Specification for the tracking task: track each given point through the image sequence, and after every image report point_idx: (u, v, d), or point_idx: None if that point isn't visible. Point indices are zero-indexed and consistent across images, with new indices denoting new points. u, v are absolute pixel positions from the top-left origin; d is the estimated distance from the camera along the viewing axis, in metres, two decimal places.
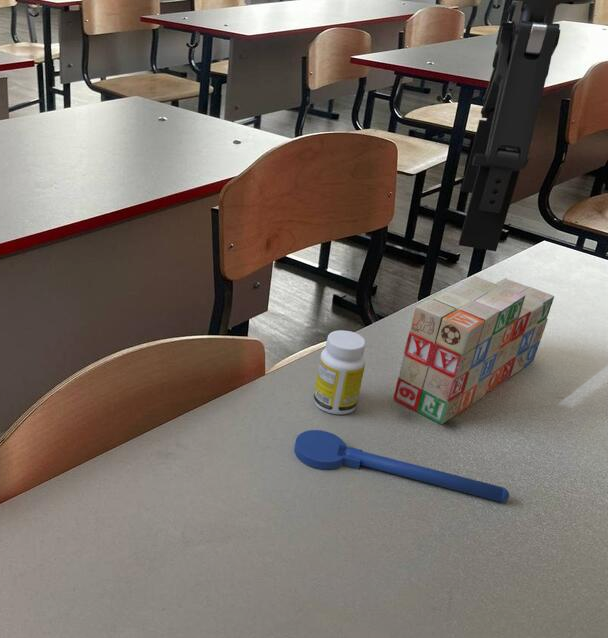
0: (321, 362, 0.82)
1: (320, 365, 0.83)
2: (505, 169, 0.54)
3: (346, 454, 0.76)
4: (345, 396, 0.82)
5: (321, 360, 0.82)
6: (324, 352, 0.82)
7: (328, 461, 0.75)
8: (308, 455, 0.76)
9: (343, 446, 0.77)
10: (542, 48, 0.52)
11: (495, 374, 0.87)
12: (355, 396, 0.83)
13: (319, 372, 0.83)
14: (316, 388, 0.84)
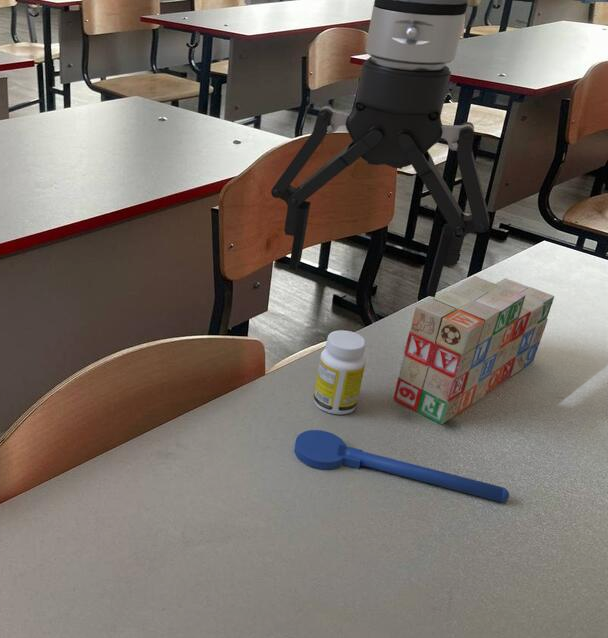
0: (321, 362, 0.82)
1: (320, 365, 0.83)
2: None
3: (346, 454, 0.76)
4: (345, 396, 0.82)
5: (321, 360, 0.82)
6: (324, 352, 0.82)
7: (328, 461, 0.75)
8: (308, 455, 0.76)
9: (343, 446, 0.77)
10: None
11: (495, 374, 0.87)
12: (355, 396, 0.83)
13: (319, 372, 0.83)
14: (316, 388, 0.84)
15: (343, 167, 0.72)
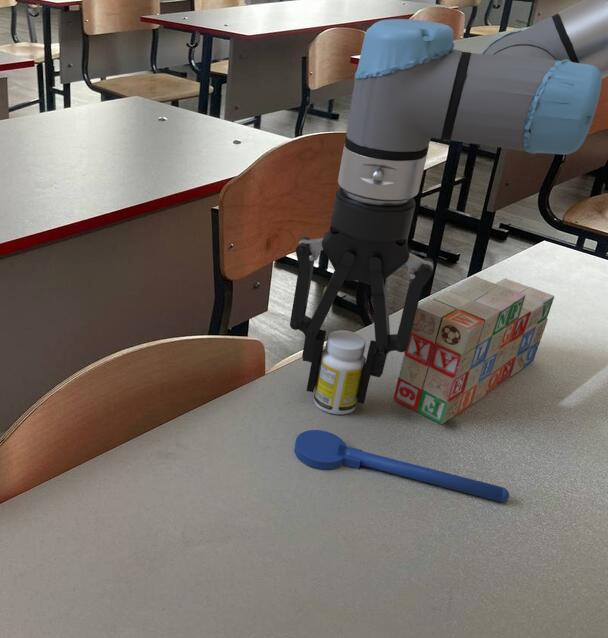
0: (321, 362, 0.82)
1: (320, 365, 0.83)
2: None
3: (346, 454, 0.76)
4: (345, 396, 0.82)
5: (321, 360, 0.82)
6: (324, 352, 0.82)
7: (328, 461, 0.75)
8: (308, 455, 0.76)
9: (343, 446, 0.77)
10: None
11: (495, 374, 0.87)
12: (355, 396, 0.83)
13: (319, 372, 0.83)
14: (316, 388, 0.84)
15: (337, 291, 0.78)
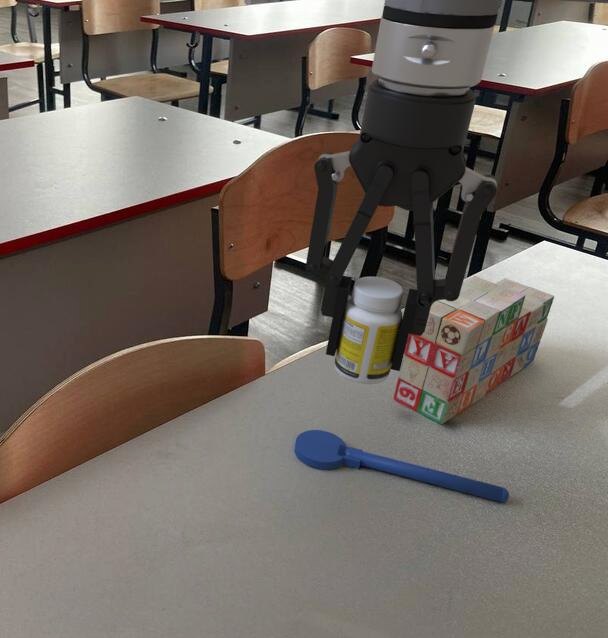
0: (345, 316, 0.64)
1: (344, 321, 0.65)
2: None
3: (346, 454, 0.76)
4: (376, 361, 0.64)
5: (345, 314, 0.64)
6: (349, 304, 0.64)
7: (328, 461, 0.75)
8: (308, 455, 0.76)
9: (343, 446, 0.77)
10: None
11: (495, 374, 0.87)
12: (389, 361, 0.65)
13: (342, 330, 0.65)
14: (338, 351, 0.66)
15: (367, 220, 0.60)
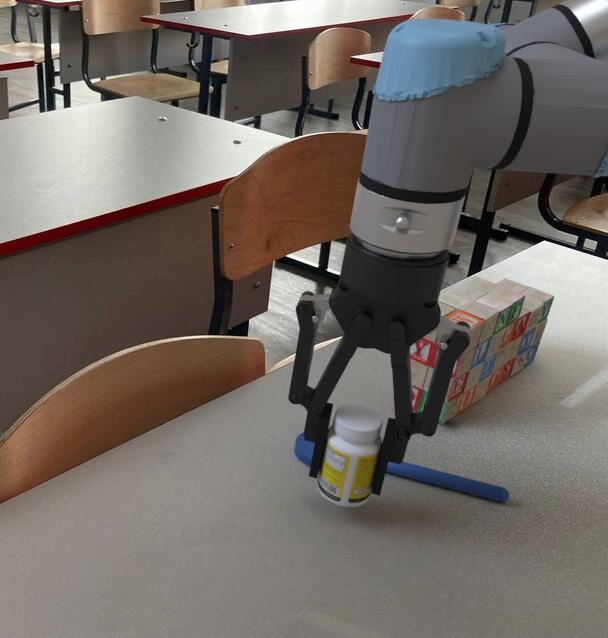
0: (327, 443, 0.67)
1: (326, 447, 0.67)
2: None
3: None
4: (357, 487, 0.66)
5: (327, 441, 0.67)
6: (331, 431, 0.67)
7: None
8: (308, 455, 0.76)
9: None
10: None
11: (495, 374, 0.87)
12: (369, 486, 0.67)
13: (324, 455, 0.67)
14: (321, 473, 0.68)
15: (347, 360, 0.62)
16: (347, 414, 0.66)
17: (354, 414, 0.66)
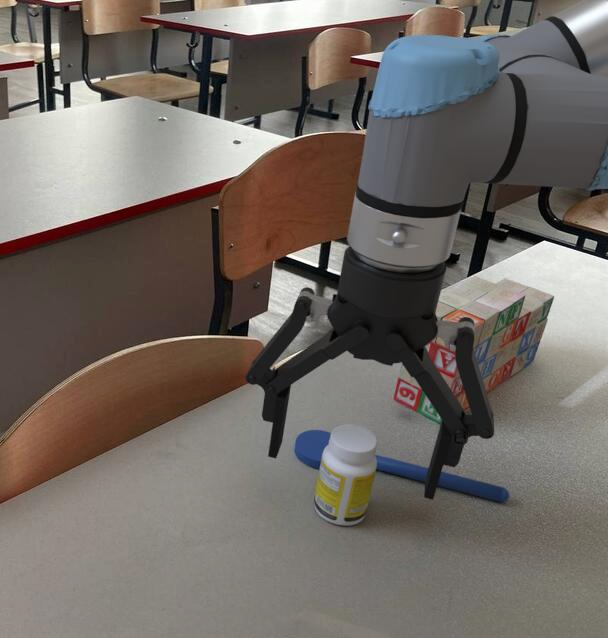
0: (323, 463, 0.68)
1: (322, 467, 0.68)
2: None
3: None
4: (352, 506, 0.67)
5: (323, 461, 0.68)
6: (327, 451, 0.68)
7: None
8: (308, 455, 0.76)
9: None
10: None
11: (495, 374, 0.87)
12: (365, 505, 0.68)
13: (320, 475, 0.68)
14: (317, 492, 0.69)
15: (325, 359, 0.63)
16: (342, 435, 0.67)
17: (349, 435, 0.67)
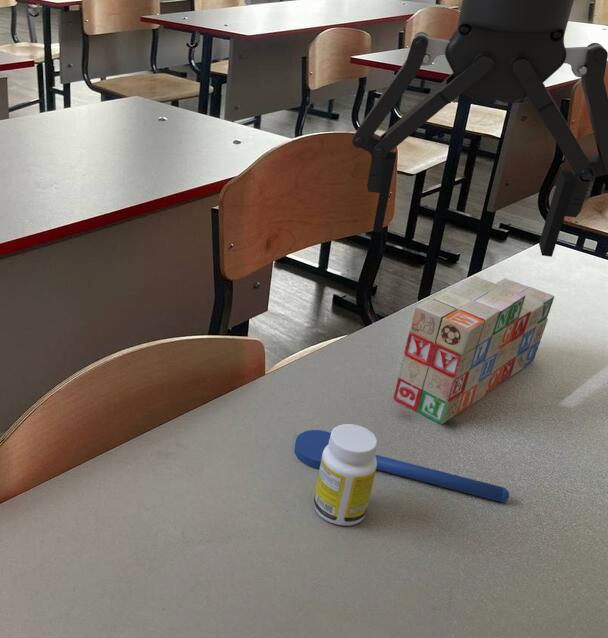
0: (323, 463, 0.68)
1: (322, 467, 0.68)
2: None
3: None
4: (352, 506, 0.67)
5: (323, 461, 0.68)
6: (327, 451, 0.68)
7: None
8: (308, 455, 0.76)
9: None
10: None
11: (495, 374, 0.87)
12: (365, 505, 0.68)
13: (320, 475, 0.68)
14: (317, 492, 0.69)
15: (442, 105, 0.61)
16: (342, 435, 0.67)
17: (349, 435, 0.67)
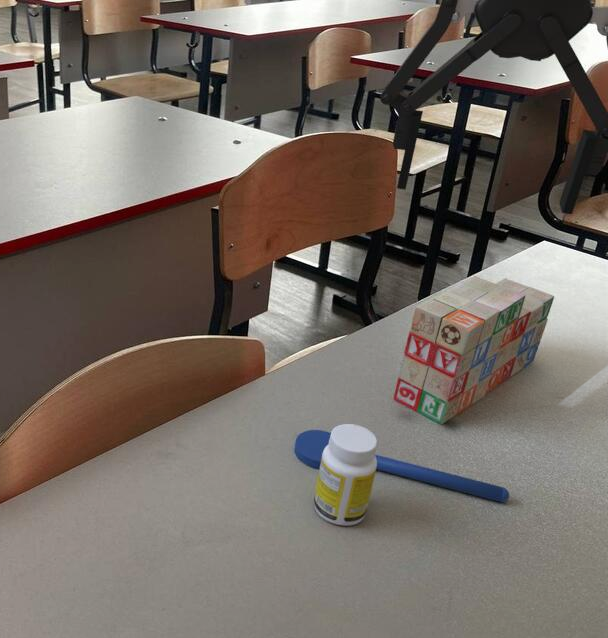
0: (323, 463, 0.68)
1: (322, 467, 0.68)
2: None
3: None
4: (352, 506, 0.67)
5: (323, 461, 0.68)
6: (327, 451, 0.68)
7: None
8: (308, 455, 0.76)
9: None
10: None
11: (495, 374, 0.87)
12: (365, 505, 0.68)
13: (320, 475, 0.68)
14: (317, 492, 0.69)
15: (469, 63, 0.62)
16: (342, 435, 0.67)
17: (349, 435, 0.67)
